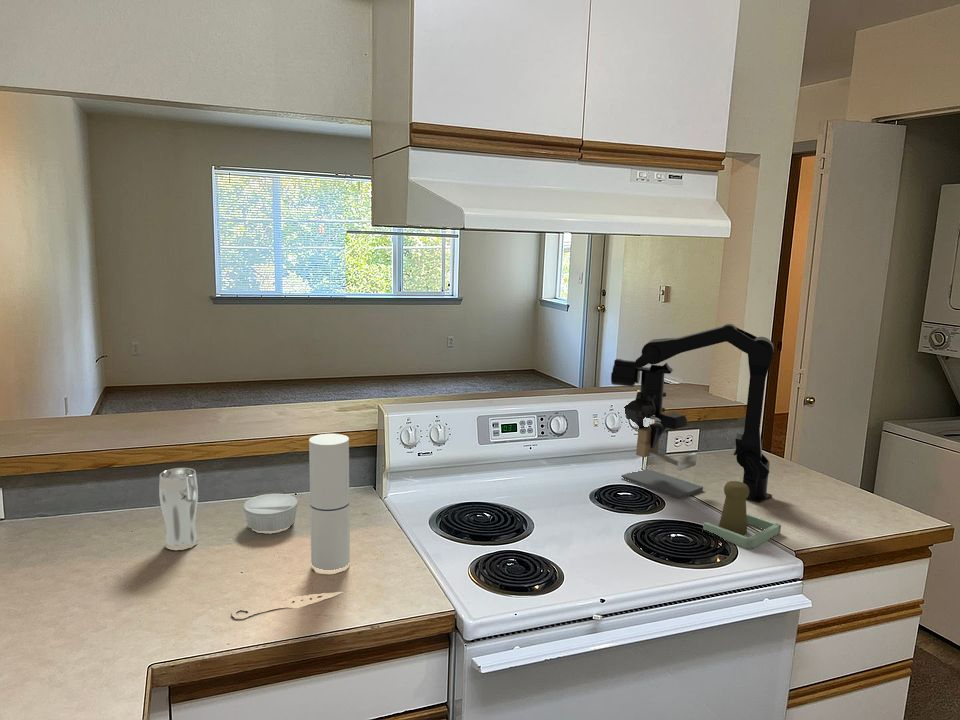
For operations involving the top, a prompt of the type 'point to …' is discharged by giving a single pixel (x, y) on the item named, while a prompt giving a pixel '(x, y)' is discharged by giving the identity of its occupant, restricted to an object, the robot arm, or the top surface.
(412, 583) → the top surface
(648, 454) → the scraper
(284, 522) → the ramekin
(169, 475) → the beer glass
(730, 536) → the corral
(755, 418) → the robot arm
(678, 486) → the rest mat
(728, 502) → the olive pawn
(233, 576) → the top surface
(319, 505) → the cylindrical container
